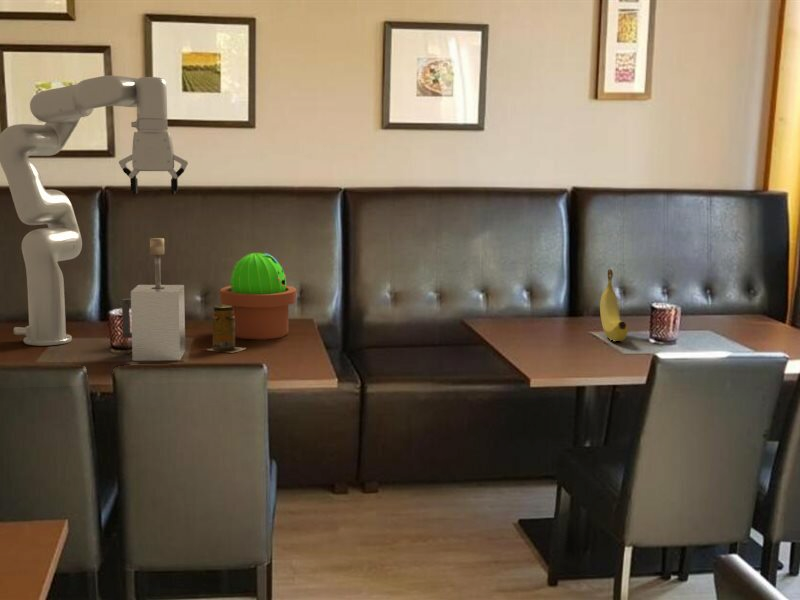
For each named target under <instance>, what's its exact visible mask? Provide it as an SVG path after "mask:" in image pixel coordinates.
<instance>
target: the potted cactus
mask: <svg viewBox="0 0 800 600" xmlns="http://www.w3.org/2000/svg"><path fill="white" fill-rule="evenodd" d="M235 262H236V263H235V264H234V265H233V269H232V271H231V276H229V277H228V278H230V285H227V286H224V287H222V288H221V289H220V290H219V291H220V292H219V294H220V295H219V296H220V300H219V301H220V303H221V305H229V306H233V308H234V309H233V311H234V316H235V339H243V340H257V341H258V340H274V339H280V338H283V337H285V336H287V335H288V333H289V306H290V305H293V304H295V303H297V288H296V287H294V286H290V285H287V276H286V274H285V271H284V269H283V266H282V265H281V263H280V262H279V261H278V259H276V258H275V257H274V256H273V255H271V254H269V253H267V252H264V253H263V252H262V253H261V252H250V253H248V254H245V256H243V257H242V258H241V259H240V260H239V261H235Z"/></svg>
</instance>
